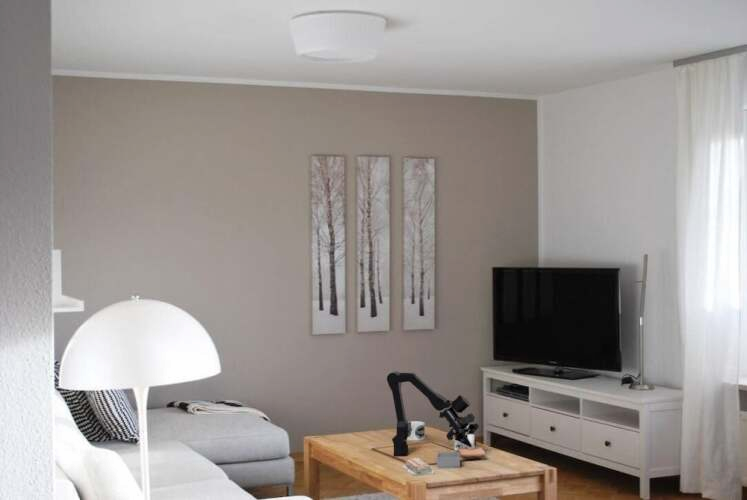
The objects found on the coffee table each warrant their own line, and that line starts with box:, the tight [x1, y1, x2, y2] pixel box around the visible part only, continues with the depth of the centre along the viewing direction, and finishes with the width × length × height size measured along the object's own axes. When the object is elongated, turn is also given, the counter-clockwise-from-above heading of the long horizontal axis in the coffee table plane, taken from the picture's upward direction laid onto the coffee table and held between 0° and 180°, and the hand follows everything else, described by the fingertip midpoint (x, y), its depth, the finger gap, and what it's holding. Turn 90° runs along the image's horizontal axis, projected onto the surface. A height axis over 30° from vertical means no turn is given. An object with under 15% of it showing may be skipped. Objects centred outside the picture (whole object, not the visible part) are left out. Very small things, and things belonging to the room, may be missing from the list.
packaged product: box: [401, 457, 435, 477], centre depth 435 cm, size 18×5×10 cm
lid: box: [457, 433, 485, 458], centre depth 455 cm, size 10×10×9 cm
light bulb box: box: [453, 424, 470, 452], centre depth 480 cm, size 11×7×11 cm, turn 168°
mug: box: [406, 420, 426, 442], centre depth 506 cm, size 13×10×8 cm
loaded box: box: [436, 451, 461, 469], centre depth 444 cm, size 10×10×5 cm
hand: (473, 445), depth 454 cm, fingers closed on lid, 3 cm apart
